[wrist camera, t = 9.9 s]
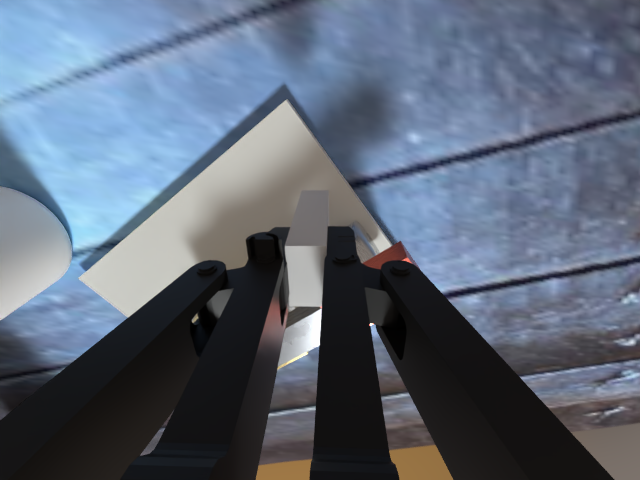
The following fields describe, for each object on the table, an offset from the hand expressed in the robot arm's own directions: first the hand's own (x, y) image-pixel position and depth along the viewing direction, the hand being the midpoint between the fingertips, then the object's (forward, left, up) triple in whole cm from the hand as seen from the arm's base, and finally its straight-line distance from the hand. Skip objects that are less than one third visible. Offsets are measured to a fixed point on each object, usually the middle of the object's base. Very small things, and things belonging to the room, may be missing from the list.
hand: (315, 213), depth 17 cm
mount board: (-12, -3, -9) cm, 15 cm away
